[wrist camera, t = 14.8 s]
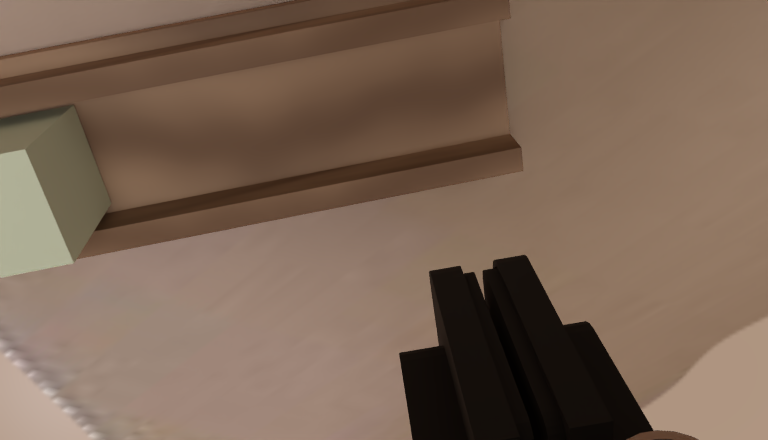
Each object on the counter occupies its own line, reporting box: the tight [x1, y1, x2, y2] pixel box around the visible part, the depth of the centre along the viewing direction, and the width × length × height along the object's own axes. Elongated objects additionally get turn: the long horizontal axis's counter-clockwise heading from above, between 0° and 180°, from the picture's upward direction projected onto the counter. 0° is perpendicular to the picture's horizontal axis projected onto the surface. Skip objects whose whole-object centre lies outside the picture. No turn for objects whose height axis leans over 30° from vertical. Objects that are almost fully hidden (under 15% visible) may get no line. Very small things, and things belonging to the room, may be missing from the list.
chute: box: [0, 0, 523, 259], centre depth 31 cm, size 10×28×6 cm, turn 100°
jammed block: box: [0, 105, 111, 278], centre depth 29 cm, size 5×5×6 cm
